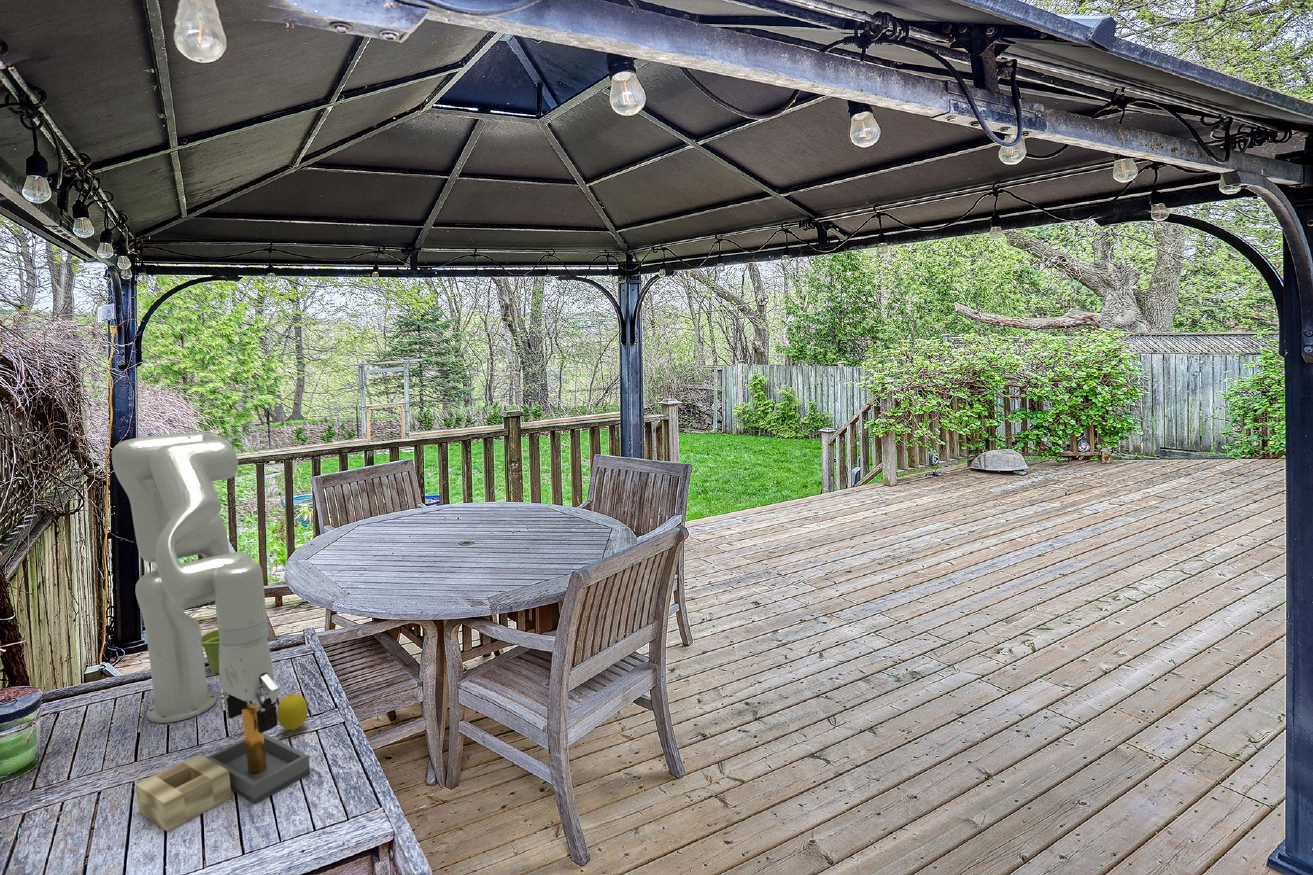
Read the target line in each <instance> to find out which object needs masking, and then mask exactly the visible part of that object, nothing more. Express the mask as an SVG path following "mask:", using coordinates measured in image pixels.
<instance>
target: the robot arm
mask: <svg viewBox="0 0 1313 875" xmlns="http://www.w3.org/2000/svg"><path fill="white" fill-rule="evenodd" d="M111 461H112V467H113V470H114V473H115V476H116V478H117V480H118V482H119V484H120V485H121V486H122V488H123V490H124V492H125V493H126V495H127V497H128V499H129V503H130V509H131V515H132V522H133V529H134V534H135V540H136V541H135V542H136V545H137V549H138V553H139V555H140V557H141V559H142V560H143V561H145V562H147V563H155V565H156V568H157V569H155V570H152V571H149V572H147V573H145V574H143V575H142V576H141V577H140V578H139V579H138V580H137V582H136V584H135V588H134V589H135V596H136V600H137V603H138V606H139V609H140V612H141V617H142V620H143V625H144V628H145V635H146V642H147V649H148V657H149V658H148V659H149V665H150V666H149V667H150V675H151V682H152V690H153V698H154V699H153V700H154V703H153V704H152V705H151V706H150V707H149V708H148V709H147V711H146V718H147V719H148V720H149V721H150V722H153V723H161V724H165V723H167V724H169V723H175V722H180V721H183V720H187V719H190V718H193V717H195V716H199V715H201V714H203V713H204V712H206V711H208V710H210V709H211V708H212V707H213V706H214V705H215V704H216V703H217V701H218V700H217V699H218V698H217V696H218V695H217V693H216V691H214V690H212V689H211V690H210V689H208V683H207V682H208V681H207V675H206V674H207V673H206V667H205V666H206V664H205V656H204V648H203V645H202V630H201V626H200V624H199V621H197V620H196V619H195V618H194V617H193V616H191V615H189V613H186V612H185V610H187V609H190V608H192V607H196V606H200V605H203V604H207V603H211V602H214V604H215V612H216V620H217V629H218V632H219V642H220V645H219V673H218V674H219V675H218V676H219V686H220V689H221V691H222V692H223V693H224V696H225V697H226V707H227V708H226V709H227V714H228V715H227V716H228V718H229V719H233V718H236V717H238V716H241V715H242V708H243V707H244V706H246V705H248V703H249V702H252V701H253V702H254V703H255V704H256V706H257V708H258V710H259V711H257V712H256V714H257V724H258V732H259V733H263V732H264V733H265V732H267V731H269V730H271V729H274V728H275V727H277V726H278V724H279V722H278V719H277V707H278V702H279V699H280V698H279V694H280V687H278V685H277V684H276V683H275V674H274V667H273V660H272V659H273V658H272V655H271V651H270V647H269V646H270V645H269V641H268V637H269V635H270V634H269V626H268V625H269V624H268V617H267V608H266V607H267V606H266V598H265V596H266V595H265V586H264V584H265V583H264V577H263V576H264V574H263V573H264V572H263V568H262V566H261V565H260V564H259V563H258V562H256V561H255V559H254V557H252V556H250V554H249V553H247V552H244V551H234V552H230V546H229V541H228V534H227V530H226V529H227V528H226V525H225V523H224V520H223V518H222V517H221V515H220V513H221V510H222V503H221V500H220V498H219V497H218V494H217V492H216V489H215V487H214V485H213V482H218V481H225V480H229V479H231V478H234V477H235V475H236V473H237V472H238V468H239V461H238V456H237V454H236V451H235V449H234V448H233V446H232V445H231V444H230V443H229V442H228V441H227V440H226V439H225V438H222V437H220V436H218V435H215V434H213V433H209V432H207V431H193V432H192V431H191V432H183V433H173V434H158V435H150V436H149V435H147V436H140V437H135V438H130V439H126V440H122V441H120V442H119V443H118V444H116V445H115V446H114V447H113V449H112V452H111ZM196 555H201V556H202V558H200V559H196V560H193V561H188V562H184V563H182V562H180V560H179V559H182V558H186V557H191V556H196ZM260 691H261V692H260ZM265 696H266V697H267V698H266V699H265V700H263V701H262V699H261V698H263V697H265Z"/></svg>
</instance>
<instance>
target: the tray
mask: <svg viewBox="0 0 1313 875" xmlns="http://www.w3.org/2000/svg"><path fill="white" fill-rule="evenodd" d="M264 742H265V752H266V762H267V768H266V769H265V770H264V771H262V772H260V773H257V774H249V773H248V766H247V756H246V746H245V738H244V739H241V740H239V741H237V742H235V743H232V744H231V745H229V746H226V747H225V748H223V749H220V750H219V751H217V752H214V753H211V754H210V755H208V756H206V758H207V759H209V760H211V761H213V762H214V763H216V764H218V765H220V766H222V767H223V768H225V769H227V770H229V776H230V786H231V792H234V793H235V794H237V795H238V796H240V797H242V799H243V798H244V799H245V800H247V801H249V802H250V803H251V804H253V805H257V804H258V803H260V802H262V801H264V800H265V799H267V798H269V797H270V796H273V795H274V794H276V793H278V792H280V791H281V790H283V789H285V788H286V787H289V786H290V785H292V784H294V783H296V782H297V781H300V779H302V778H304V777H306V776H308V775H309V774H311V769H310V768H311V767H310V760H309V755H308V754H306V753H304V752H303V751H300V750H298V749H296V748H294V747H292V746H290V745H287V744H286V743H284V742H281V741H279V740H277V739H276V738H273V737H271V736H269V735H267V734H265V733H264Z"/></svg>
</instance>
